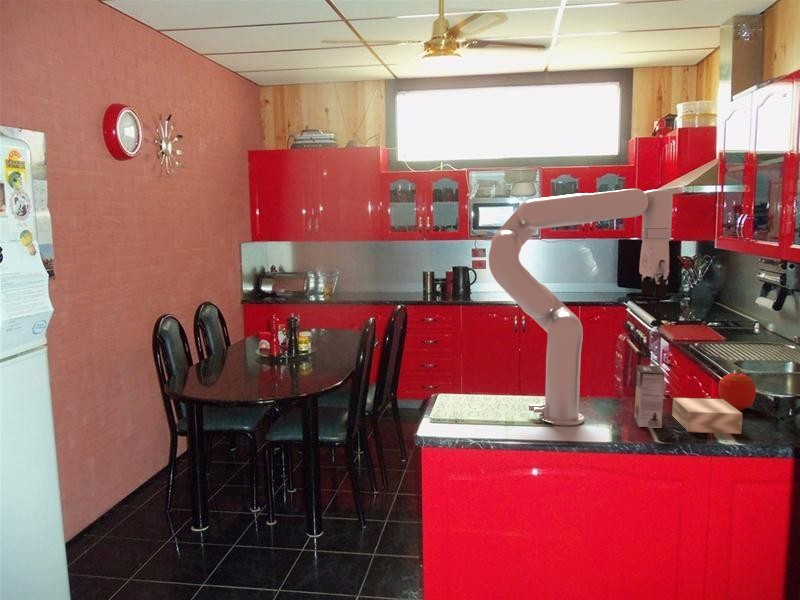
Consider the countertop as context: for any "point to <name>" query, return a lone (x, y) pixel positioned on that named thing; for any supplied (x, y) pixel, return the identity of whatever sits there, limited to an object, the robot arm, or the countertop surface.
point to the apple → (737, 390)
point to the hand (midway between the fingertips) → (653, 296)
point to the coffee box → (649, 396)
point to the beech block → (707, 415)
